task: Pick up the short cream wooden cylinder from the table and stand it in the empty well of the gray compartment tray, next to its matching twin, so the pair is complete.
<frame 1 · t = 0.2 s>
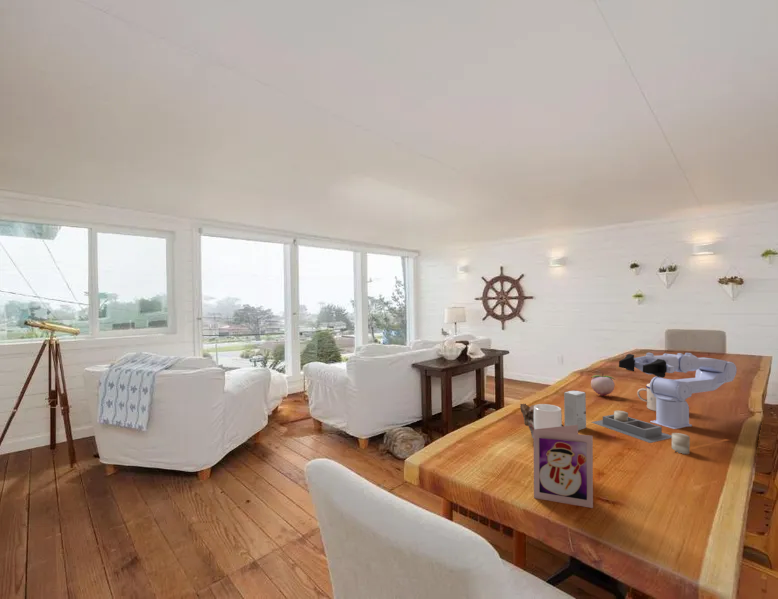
hand: (631, 366, 120), 21 cm above the table, tool horizontal, fingers open, 7 cm apart
twin cylinder: (621, 425, 125), resting on gray compartment tray
greeting card: (561, 497, 82), on the table
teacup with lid: (655, 409, 146), on the table
skincare box: (575, 429, 125), on the table
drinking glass: (547, 465, 98), on the table
seed pod: (544, 443, 113), on the table
cream cylinder: (680, 451, 106), on the table
decorative fruit: (603, 396, 165), on the table
gray compartment tray: (630, 430, 122), on the table
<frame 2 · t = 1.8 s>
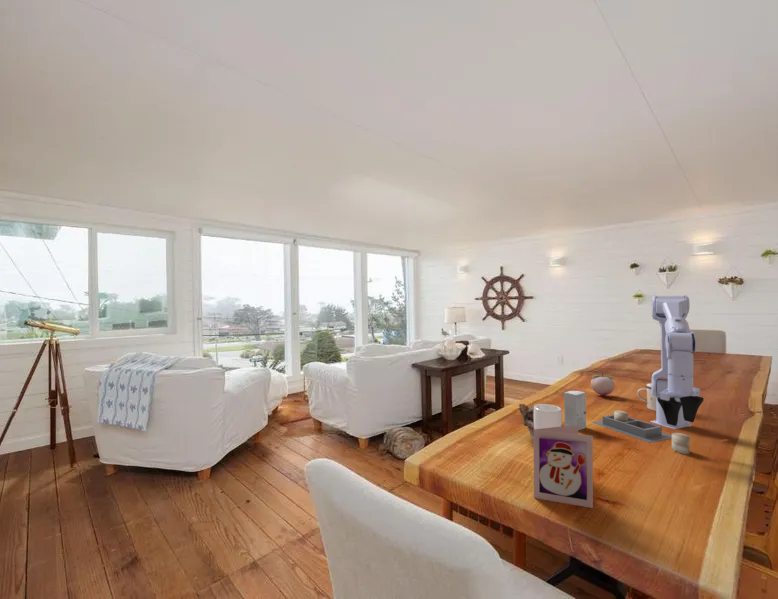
hand: (680, 423, 106), 8 cm above the table, tool pointing down, fingers open, 7 cm apart
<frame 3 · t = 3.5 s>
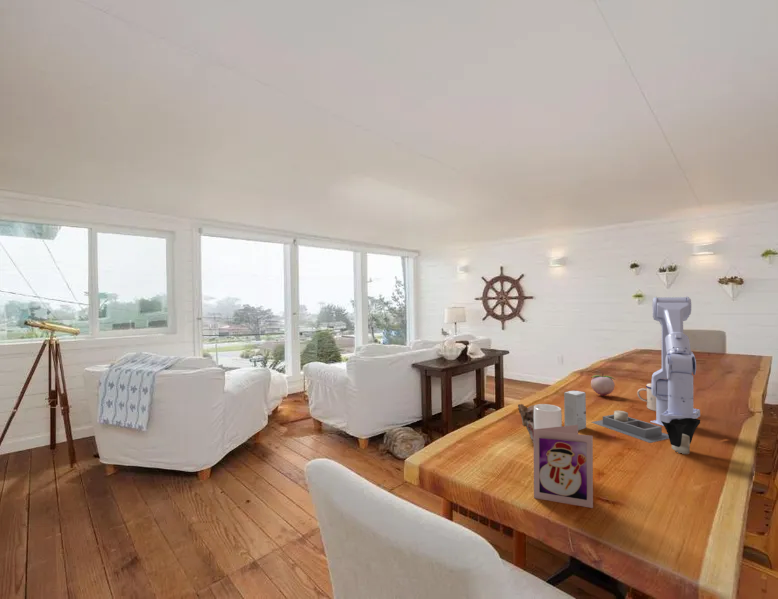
hand: (680, 444, 106), 2 cm above the table, tool pointing down, fingers closed on cream cylinder, 4 cm apart
cream cylinder: (680, 451, 106), on the table, touching gripper
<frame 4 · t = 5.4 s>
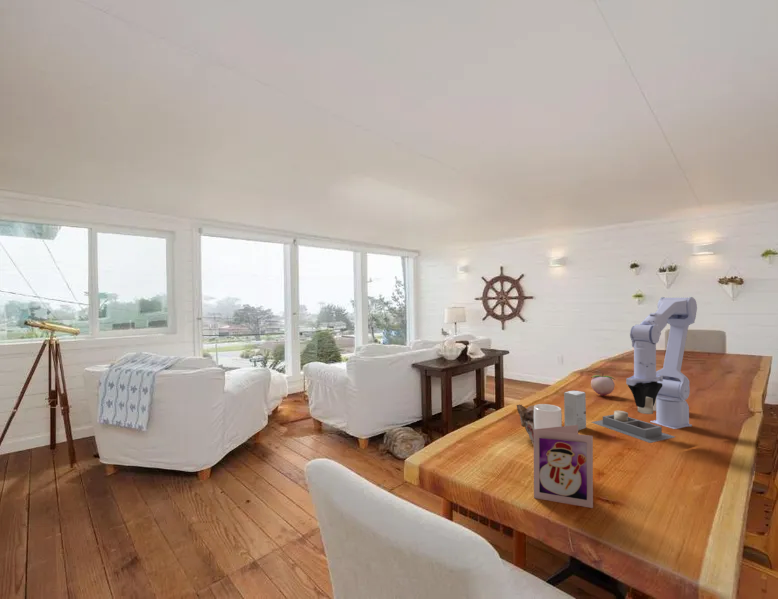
hand: (645, 405, 118), 9 cm above the table, tool pointing down, fingers closed on cream cylinder, 4 cm apart
cream cylinder: (645, 412, 118), point 7 cm above the table, touching gripper
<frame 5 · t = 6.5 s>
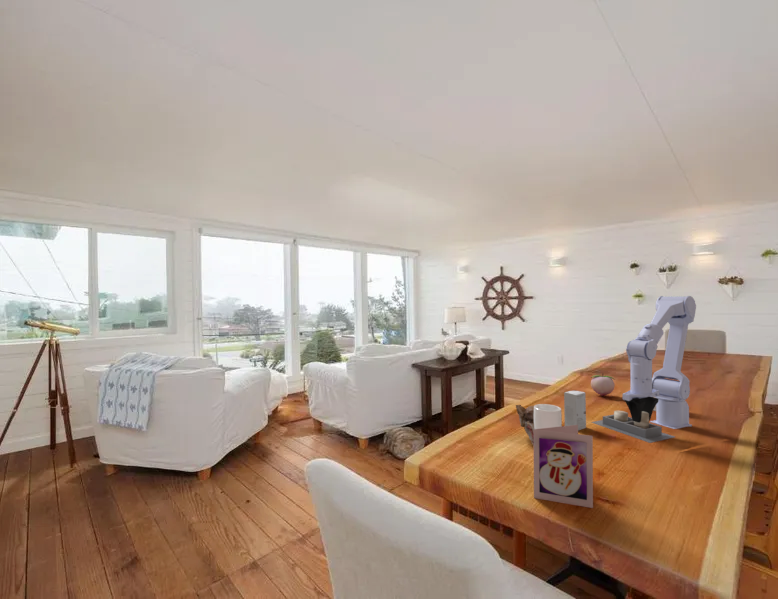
hand: (641, 420, 119), 4 cm above the table, tool pointing down, fingers closed on cream cylinder, 4 cm apart
cream cylinder: (641, 426, 119), point 2 cm above the table, touching gripper
when the fingers open (4 cm above the table, at t = 7.4 s): cream cylinder drops 1 cm, resting on gray compartment tray.
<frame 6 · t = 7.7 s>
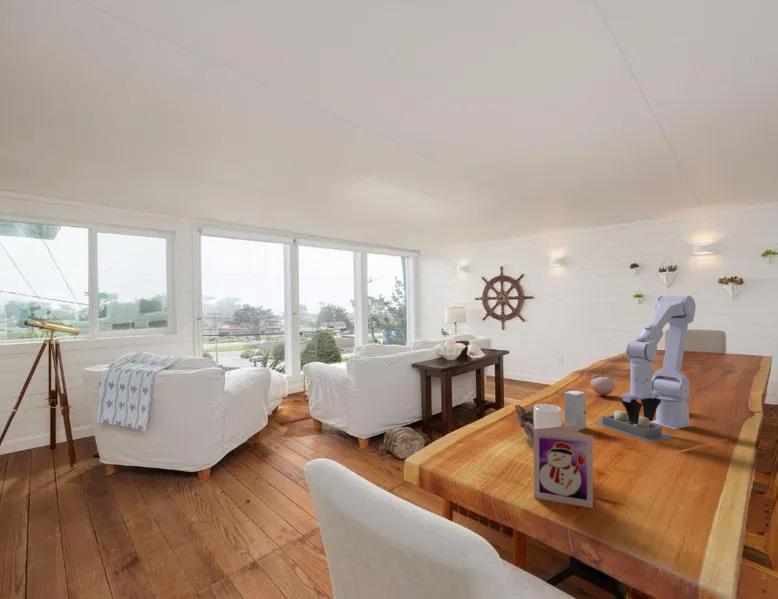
hand: (641, 421, 119), 4 cm above the table, tool pointing down, fingers open, 6 cm apart
cream cylinder: (641, 432, 119), point 1 cm above the table, touching gray compartment tray
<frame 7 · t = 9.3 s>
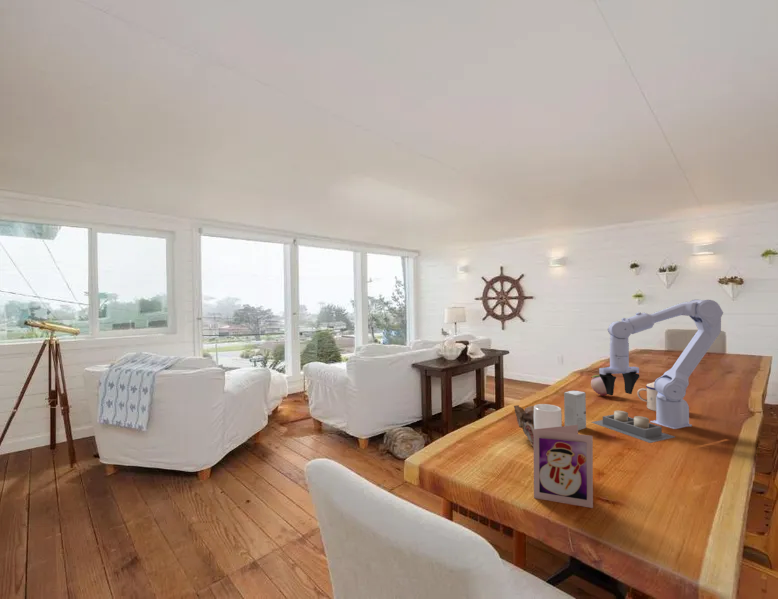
hand: (619, 394, 132), 9 cm above the table, tool pointing down, fingers open, 7 cm apart
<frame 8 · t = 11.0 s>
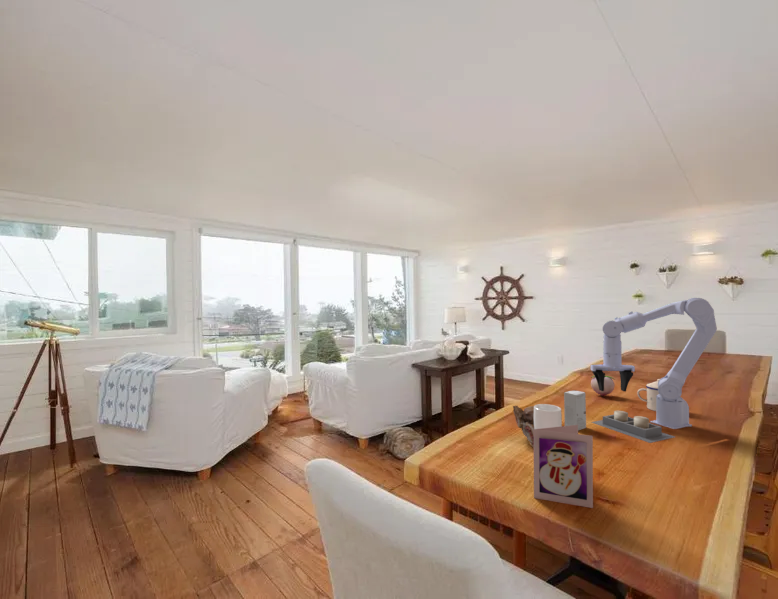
hand: (612, 390, 137), 9 cm above the table, tool pointing down, fingers open, 7 cm apart
at the end: cream cylinder 0.0 cm from the target spot on the gray compartment tray, point 0.6 cm above the gray compartment tray's base; cream cylinder tilted 0°; the gripper is holding nothing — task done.
